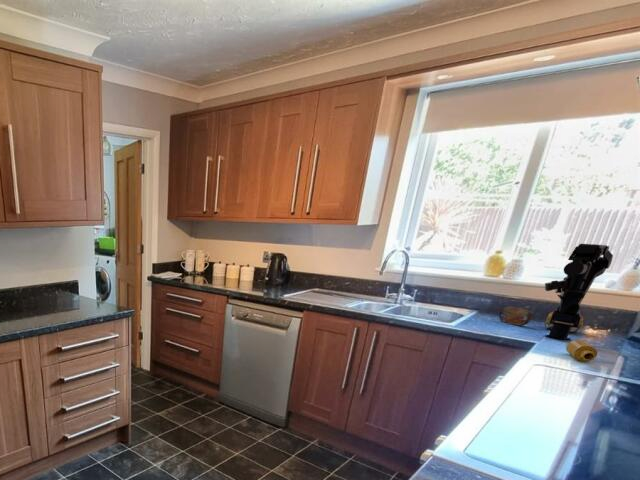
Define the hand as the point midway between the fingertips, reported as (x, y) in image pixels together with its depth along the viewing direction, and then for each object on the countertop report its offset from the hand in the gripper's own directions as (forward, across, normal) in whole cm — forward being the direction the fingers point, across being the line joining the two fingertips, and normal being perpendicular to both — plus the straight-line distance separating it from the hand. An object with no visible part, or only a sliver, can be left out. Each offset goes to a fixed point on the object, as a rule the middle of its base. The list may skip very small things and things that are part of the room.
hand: (561, 312), depth 182 cm
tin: (+13, -37, -10) cm, 40 cm away
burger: (+12, -36, +9) cm, 39 cm away
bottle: (+10, +21, +5) cm, 24 cm away
